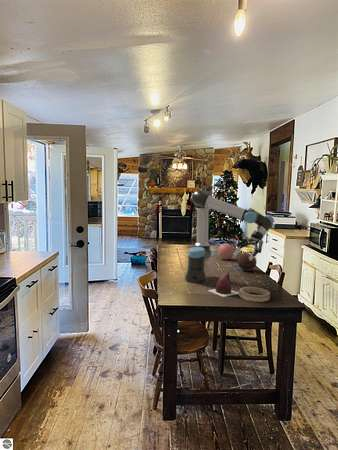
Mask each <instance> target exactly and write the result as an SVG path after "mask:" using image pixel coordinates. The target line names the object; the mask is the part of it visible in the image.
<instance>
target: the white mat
mask: <svg viewBox="0 0 338 450" xmlns="http://www.w3.org/2000/svg"><path fill="white" fill-rule="evenodd" d="M207 292H210V293H212V294H214V295H217V296H220V297H222V298H225V297H226V298H227V297H230V296H231V297H232V296H235V295H239V292H238V291H235V290H233V289H231V293H230V294H220V293H218V292H216V288H213V289H208V290H207Z"/></svg>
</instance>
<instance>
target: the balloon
mask: <svg viewBox="0 0 338 450" xmlns="http://www.w3.org/2000/svg"><path fill="white" fill-rule="evenodd" d="M236 249H237V247H234V246H232V244H230V243H226V242H224V243H221V244H220V245H219V246H218V247H217V254H218V256H219V258H221V259H222V260H226V261H228V260H230V259H232V258H233V257H234V252H235V250H236Z"/></svg>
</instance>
